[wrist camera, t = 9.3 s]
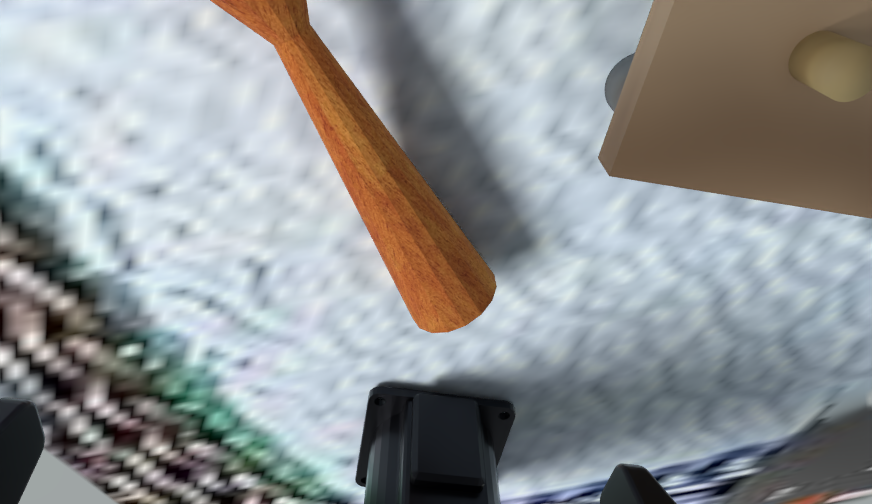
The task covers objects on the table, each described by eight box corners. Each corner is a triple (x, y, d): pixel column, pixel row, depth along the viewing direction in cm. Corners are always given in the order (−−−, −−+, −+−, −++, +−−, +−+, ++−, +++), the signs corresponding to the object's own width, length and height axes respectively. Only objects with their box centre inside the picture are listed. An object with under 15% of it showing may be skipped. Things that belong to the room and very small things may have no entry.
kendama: (364, 378, 20) (-309, -419, 8) (396, 261, 24) (-20, -364, 13) (532, 346, 17) (-85, -795, 6) (532, 223, 22) (173, -572, 11)
